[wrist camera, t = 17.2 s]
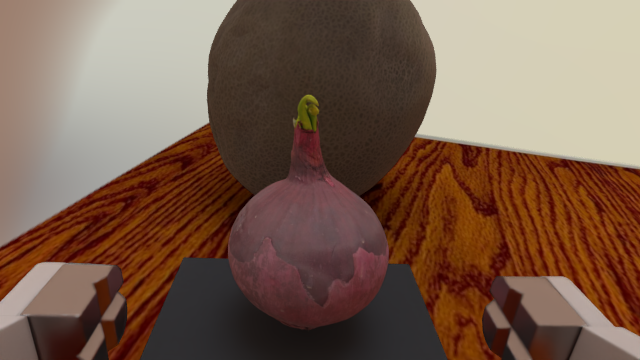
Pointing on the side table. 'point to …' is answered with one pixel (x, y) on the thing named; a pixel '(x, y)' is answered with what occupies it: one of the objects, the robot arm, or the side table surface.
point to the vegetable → (308, 241)
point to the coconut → (319, 85)
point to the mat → (279, 339)
